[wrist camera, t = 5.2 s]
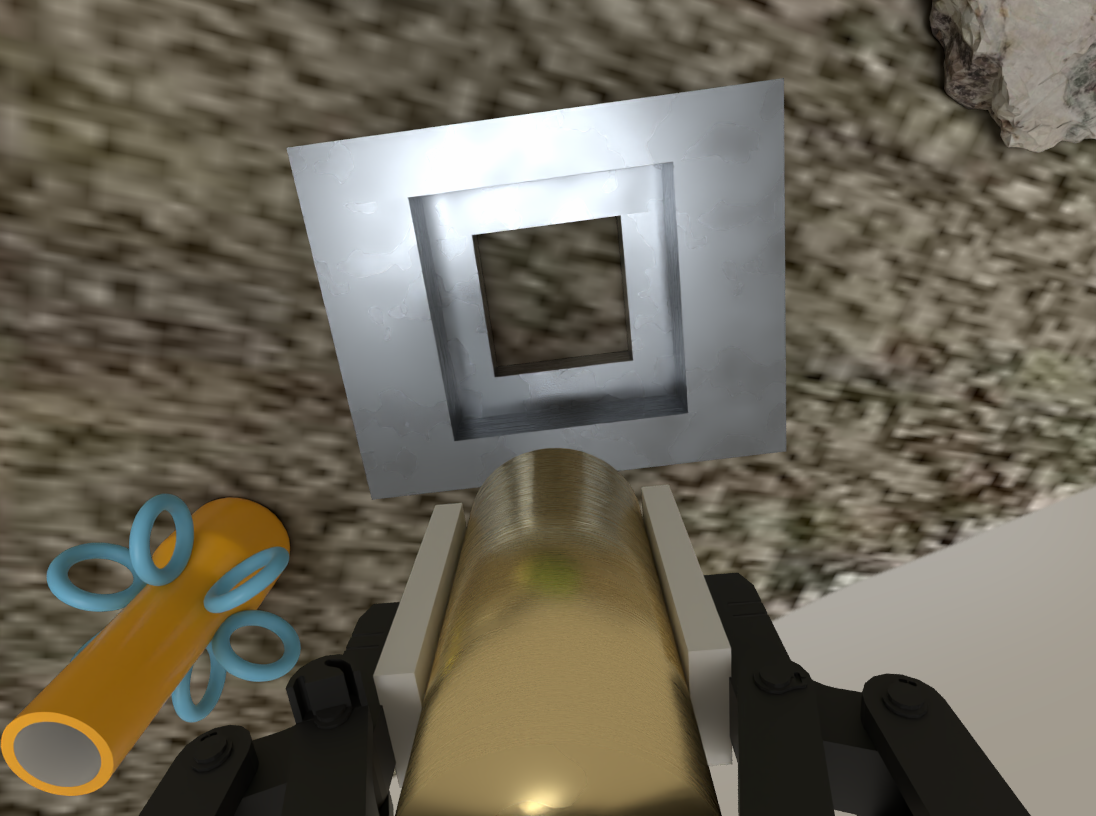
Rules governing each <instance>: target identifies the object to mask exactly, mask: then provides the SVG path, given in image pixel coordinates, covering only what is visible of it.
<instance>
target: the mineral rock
mask: <svg viewBox="0 0 1096 816" xmlns="http://www.w3.org/2000/svg"><path fill="white" fill-rule="evenodd" d="M929 18H930V23H931V28H932V33H933V35H934V36H935V37H936V38H937V39H938V40H939V41H940V43H941V44H942V46H943V48H944V52H945V61H944V69H945V86H944V89H945V92H946V93H947V94H948V95H949V96H950V97H952V98H953V99H954V100H955V101H957V102H958V103H959V104H961V105H963V106H964V107H966V108H967V109H984V110H989V113H990V115H991V117H992V118H993V119H994V120H995V121H996V123H997V124H998V125H999V128H1000V129H1001V132H1000V136H1001V138H1002V140H1003V141H1004V143H1005V145H1006V146H1008V147H1021V148H1026V149H1027V150H1028V151H1033V152H1042V151H1044V150H1046V149H1048V148H1051V147H1054V146H1055V145H1056V144H1057V143H1058V142H1060V141H1062V140H1064V141H1068V142H1073V143H1078V142H1080V141H1082V140H1083V139H1089V138H1093V139H1096V0H933V3H932V8H931V14H930V17H929Z"/></svg>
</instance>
